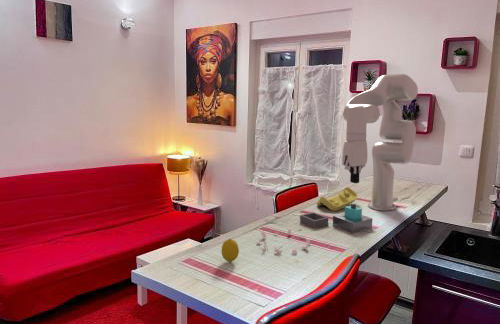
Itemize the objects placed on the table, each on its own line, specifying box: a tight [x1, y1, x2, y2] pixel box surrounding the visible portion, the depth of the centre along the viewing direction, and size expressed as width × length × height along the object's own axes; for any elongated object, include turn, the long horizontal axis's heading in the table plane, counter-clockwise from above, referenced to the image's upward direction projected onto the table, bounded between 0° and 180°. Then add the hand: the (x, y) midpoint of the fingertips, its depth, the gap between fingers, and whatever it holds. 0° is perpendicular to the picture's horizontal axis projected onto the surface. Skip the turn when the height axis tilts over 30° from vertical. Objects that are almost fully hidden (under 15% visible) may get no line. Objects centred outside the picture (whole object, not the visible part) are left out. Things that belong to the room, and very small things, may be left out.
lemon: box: [221, 238, 240, 263], centre depth 119 cm, size 6×6×8 cm
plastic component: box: [316, 186, 358, 212], centre depth 182 cm, size 20×8×10 cm
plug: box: [344, 203, 363, 221], centre depth 151 cm, size 4×6×10 cm
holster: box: [299, 211, 329, 229], centre depth 156 cm, size 8×9×3 cm
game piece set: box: [256, 227, 311, 255], centre depth 134 cm, size 19×20×4 cm
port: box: [332, 212, 373, 234], centre depth 152 cm, size 11×11×4 cm
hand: (354, 182), depth 149 cm, fingers closed
